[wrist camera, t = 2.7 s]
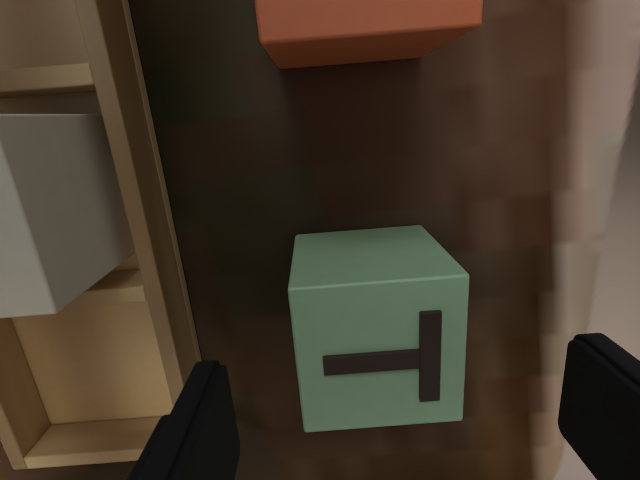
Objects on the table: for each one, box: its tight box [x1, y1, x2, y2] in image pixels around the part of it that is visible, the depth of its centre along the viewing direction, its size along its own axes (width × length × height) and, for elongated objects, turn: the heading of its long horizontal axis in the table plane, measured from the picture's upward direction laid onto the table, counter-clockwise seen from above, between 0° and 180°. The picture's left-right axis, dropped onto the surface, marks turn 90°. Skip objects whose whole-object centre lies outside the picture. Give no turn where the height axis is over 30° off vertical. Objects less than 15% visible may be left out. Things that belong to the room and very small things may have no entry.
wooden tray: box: [0, 0, 202, 470], centre depth 13 cm, size 8×22×2 cm, turn 4°
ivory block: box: [0, 114, 135, 318], centre depth 12 cm, size 5×5×5 cm
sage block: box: [288, 225, 469, 432], centre depth 13 cm, size 5×5×5 cm
